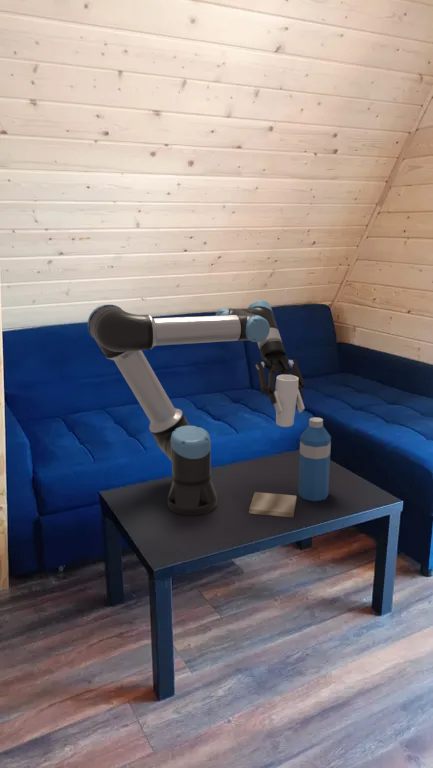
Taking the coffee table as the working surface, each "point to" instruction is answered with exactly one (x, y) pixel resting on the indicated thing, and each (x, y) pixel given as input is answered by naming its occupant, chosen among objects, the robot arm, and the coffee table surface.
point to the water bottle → (314, 461)
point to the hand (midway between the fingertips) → (290, 411)
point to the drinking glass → (287, 398)
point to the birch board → (273, 504)
